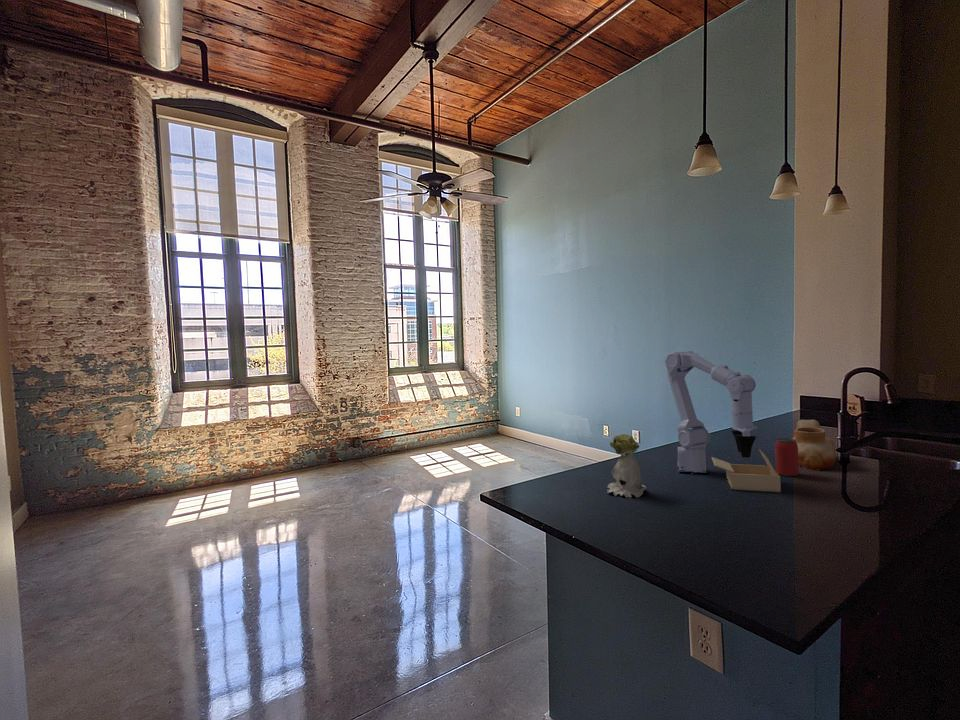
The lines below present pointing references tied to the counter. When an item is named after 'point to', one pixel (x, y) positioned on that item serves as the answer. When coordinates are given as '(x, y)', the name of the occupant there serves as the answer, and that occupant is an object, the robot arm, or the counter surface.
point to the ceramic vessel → (813, 445)
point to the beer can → (786, 457)
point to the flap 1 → (722, 464)
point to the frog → (626, 468)
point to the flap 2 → (767, 461)
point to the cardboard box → (753, 478)
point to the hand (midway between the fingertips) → (744, 454)
